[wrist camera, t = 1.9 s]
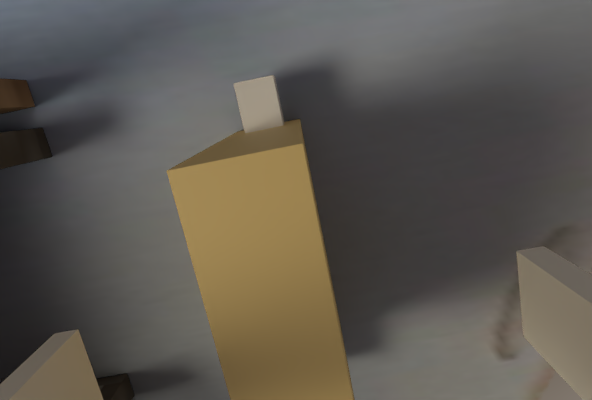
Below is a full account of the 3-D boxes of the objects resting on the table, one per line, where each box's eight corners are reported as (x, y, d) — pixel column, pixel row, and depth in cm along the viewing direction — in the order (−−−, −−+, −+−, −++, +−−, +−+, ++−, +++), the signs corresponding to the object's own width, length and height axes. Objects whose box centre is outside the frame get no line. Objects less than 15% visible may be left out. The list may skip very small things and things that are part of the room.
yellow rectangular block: (227, 88, 19) (140, 76, 8) (291, 75, 19) (283, 45, 8) (292, 366, 23) (288, 605, 12) (346, 357, 22) (391, 591, 12)
